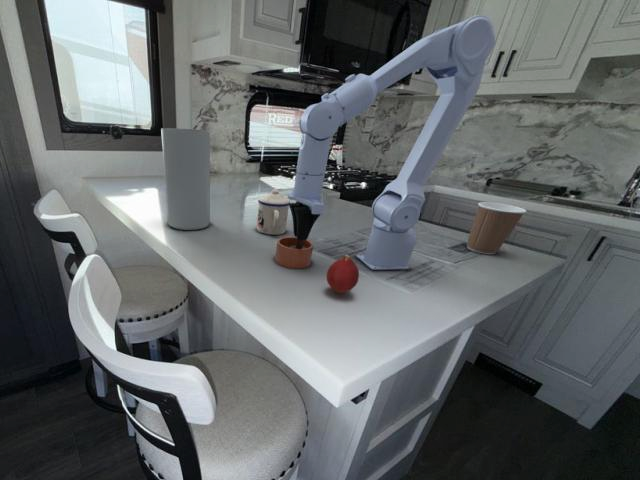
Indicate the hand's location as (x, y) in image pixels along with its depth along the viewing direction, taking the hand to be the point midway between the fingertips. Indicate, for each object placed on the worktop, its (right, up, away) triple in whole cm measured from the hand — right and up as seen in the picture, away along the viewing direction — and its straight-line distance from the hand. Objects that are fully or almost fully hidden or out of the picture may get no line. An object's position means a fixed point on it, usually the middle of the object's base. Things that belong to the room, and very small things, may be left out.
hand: (300, 237), depth 69 cm
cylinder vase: (-29, +9, +23) cm, 38 cm away
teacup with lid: (-4, +6, +21) cm, 22 cm away
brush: (0, -4, +2) cm, 5 cm away
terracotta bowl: (-1, -5, +3) cm, 6 cm away
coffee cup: (+54, 0, +17) cm, 57 cm away
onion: (+6, -13, -9) cm, 17 cm away
